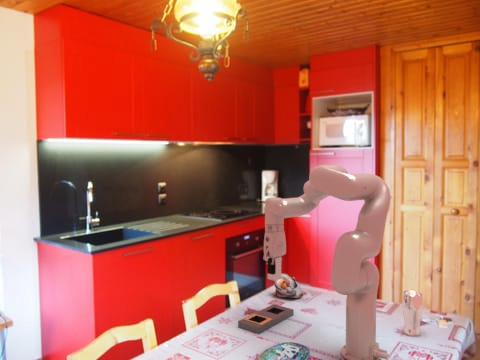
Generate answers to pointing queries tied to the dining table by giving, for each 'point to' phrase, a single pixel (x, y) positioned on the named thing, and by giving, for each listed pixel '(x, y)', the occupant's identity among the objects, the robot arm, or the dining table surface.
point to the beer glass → (412, 312)
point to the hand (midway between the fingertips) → (274, 272)
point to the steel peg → (276, 269)
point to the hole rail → (265, 319)
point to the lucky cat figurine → (288, 287)
